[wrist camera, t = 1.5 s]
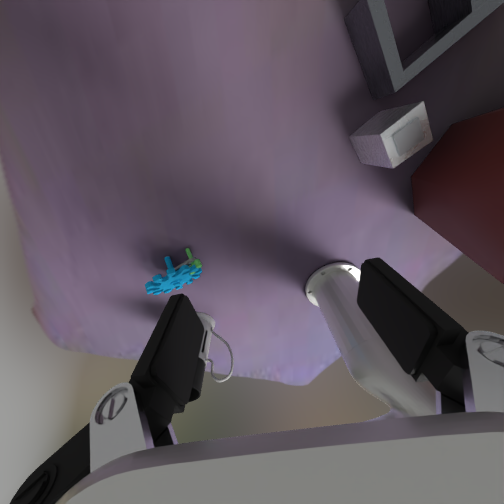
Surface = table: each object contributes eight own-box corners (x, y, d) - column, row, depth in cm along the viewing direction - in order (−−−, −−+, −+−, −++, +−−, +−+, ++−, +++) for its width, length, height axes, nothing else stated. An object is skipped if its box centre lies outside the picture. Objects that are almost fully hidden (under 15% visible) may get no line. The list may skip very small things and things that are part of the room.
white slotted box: (390, 141, 26) (435, 140, 20) (360, 163, 28) (394, 168, 21) (379, 111, 24) (426, 100, 18) (348, 136, 26) (382, 134, 19)
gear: (173, 296, 38) (132, 299, 29) (164, 272, 40) (123, 267, 30) (216, 271, 37) (188, 264, 28) (205, 247, 39) (175, 233, 29)
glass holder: (174, 314, 43) (145, 386, 31) (231, 306, 43) (226, 376, 30) (186, 336, 48) (166, 406, 35) (238, 329, 47) (236, 398, 35)
